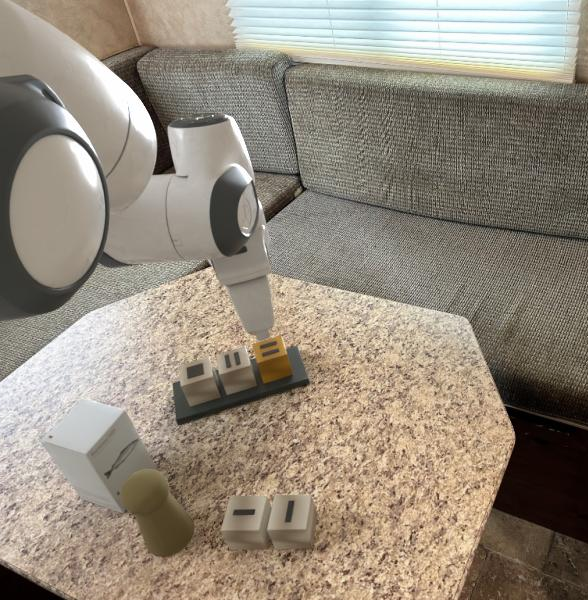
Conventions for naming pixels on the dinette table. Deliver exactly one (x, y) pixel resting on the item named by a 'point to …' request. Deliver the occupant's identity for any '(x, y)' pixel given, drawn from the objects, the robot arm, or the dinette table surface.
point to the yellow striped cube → (272, 359)
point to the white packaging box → (97, 451)
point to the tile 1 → (199, 381)
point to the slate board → (242, 397)
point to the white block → (292, 521)
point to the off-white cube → (247, 522)
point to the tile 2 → (236, 370)
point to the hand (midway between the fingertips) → (257, 316)
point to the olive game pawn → (157, 513)
